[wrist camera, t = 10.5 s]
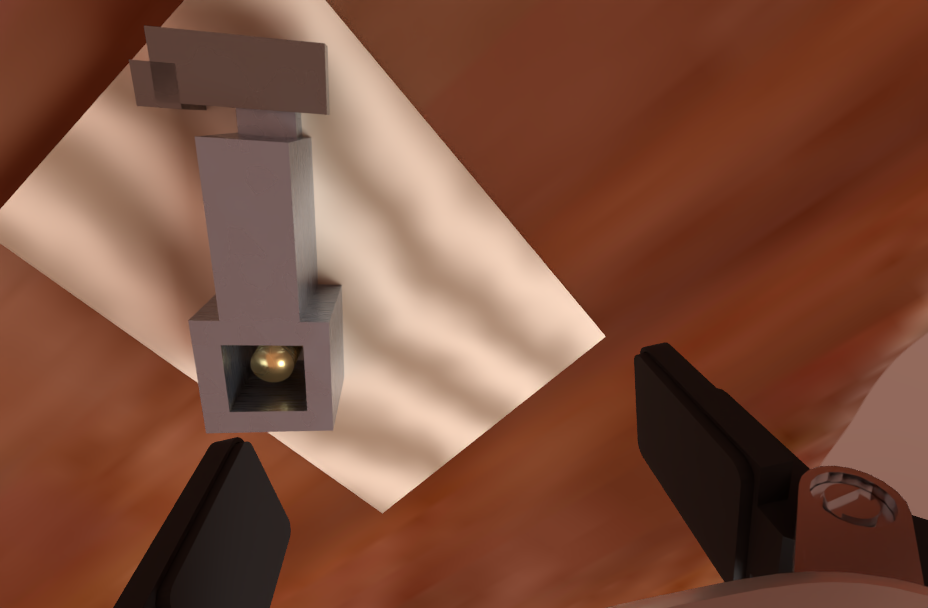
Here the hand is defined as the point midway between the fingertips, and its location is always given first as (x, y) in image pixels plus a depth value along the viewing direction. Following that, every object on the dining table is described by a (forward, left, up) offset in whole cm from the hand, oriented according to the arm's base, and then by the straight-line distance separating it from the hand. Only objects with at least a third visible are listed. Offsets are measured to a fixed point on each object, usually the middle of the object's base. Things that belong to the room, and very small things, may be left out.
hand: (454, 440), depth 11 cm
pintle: (+11, -1, -22) cm, 25 cm away
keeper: (0, -13, -22) cm, 25 cm away
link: (+6, -6, -20) cm, 22 cm away
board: (+6, -1, -22) cm, 23 cm away
